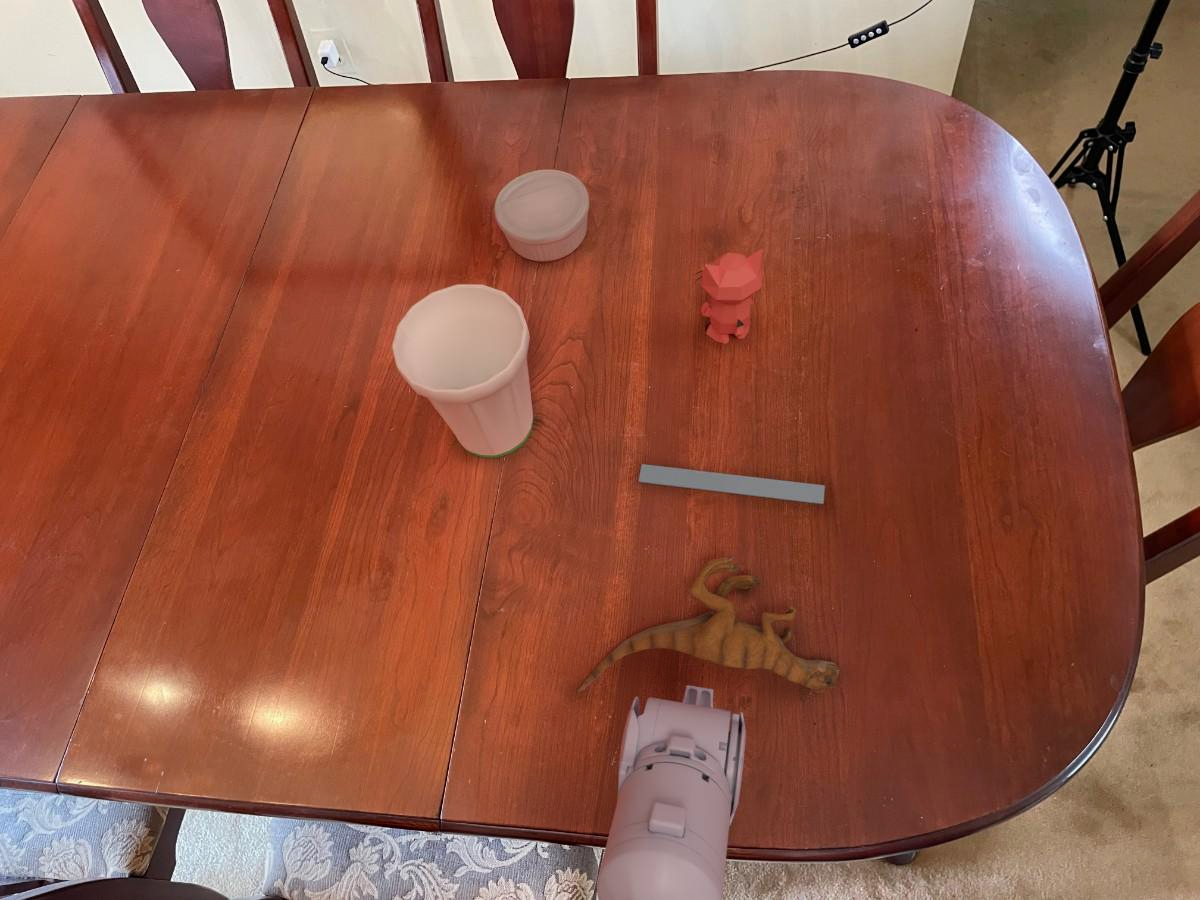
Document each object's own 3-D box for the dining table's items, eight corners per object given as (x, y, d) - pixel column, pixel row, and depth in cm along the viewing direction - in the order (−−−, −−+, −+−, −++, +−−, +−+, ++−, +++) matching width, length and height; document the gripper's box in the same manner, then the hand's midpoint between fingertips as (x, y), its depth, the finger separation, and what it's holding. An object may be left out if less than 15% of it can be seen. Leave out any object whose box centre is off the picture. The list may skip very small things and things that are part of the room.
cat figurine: (750, 300, 94) (756, 221, 84) (772, 347, 91) (781, 271, 80) (689, 316, 94) (688, 240, 84) (709, 364, 91) (710, 291, 80)
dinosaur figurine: (840, 595, 77) (836, 729, 71) (599, 567, 80) (577, 693, 75) (851, 569, 71) (848, 713, 65) (590, 540, 75) (566, 674, 69)
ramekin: (542, 188, 106) (535, 155, 102) (612, 224, 102) (608, 190, 97) (483, 245, 103) (473, 213, 98) (553, 284, 98) (546, 252, 94)
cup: (531, 486, 85) (500, 405, 72) (419, 462, 88) (369, 379, 75) (567, 386, 91) (545, 293, 78) (461, 366, 94) (422, 273, 81)
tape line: (823, 504, 81) (823, 503, 81) (638, 482, 84) (638, 481, 84) (824, 486, 82) (824, 485, 82) (641, 464, 85) (641, 463, 85)
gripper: (642, 661, 59) (651, 706, 70) (603, 894, 52) (621, 900, 64) (744, 678, 57) (737, 720, 69) (719, 918, 51) (715, 920, 62)
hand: (687, 808), depth 66 cm, fingers closed
